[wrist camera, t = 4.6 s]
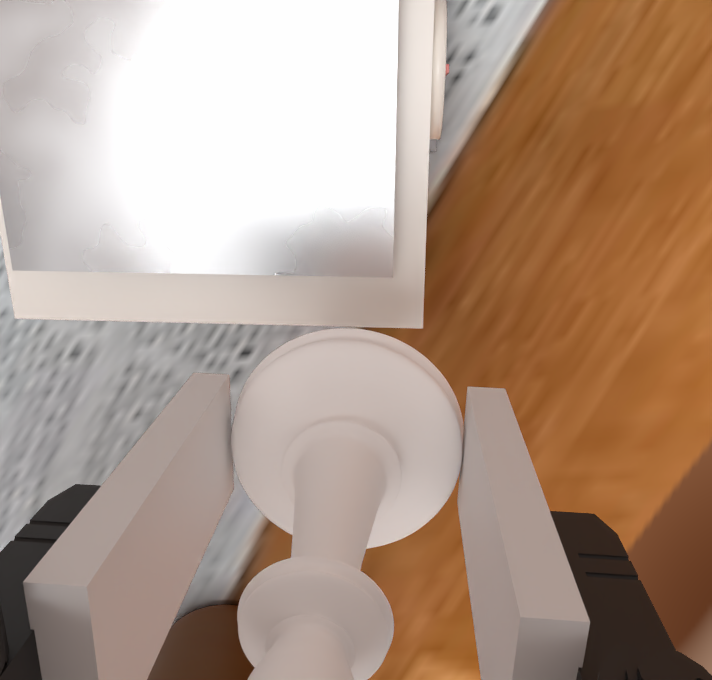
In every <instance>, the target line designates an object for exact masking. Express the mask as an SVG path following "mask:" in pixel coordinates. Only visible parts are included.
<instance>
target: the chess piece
mask: <svg viewBox="0 0 712 680" xmlns="http://www.w3.org/2000/svg"><path fill="white" fill-rule="evenodd" d="M463 432H464V426H463V419H462V414H461V410H460V407H459V404H458V401H457V399H456V397H455V394H454V392H453V390H452V389H451V387H450V385H449V383H448V382H447V380H446V379H445V378H444V376H443V375H442V374H441V372H440V371H439V370H438V369H437V368H436V367H435V366H434V365H433V364H432V363H431V362H430V361H429V360H428V359H427V358H426V357H425V356H423V355H422V354H421V353H420V352H418V351H417V350H415V349H414V348H412V347H411V346H409V345H407V344H405V343H404V342H402V341H400V340H397V339H395V338H393V337H390V336H388V335H385V334H381V333H378V332H374V331H369V330H364V329H355V328H334V329H326V330H320V331H315V332H312V333H308V334H305V335H302V336H300V337H297V338H295V339H293V340H291V341H289V342H287V343H285V344H283V345H282V346H280V347H279V348H277V349H276V350H274V351H273V352H272V353H270V354H269V355H268V356H267V357H266V358H265V359H264V360H263V361H262V362H261V363H260V364H259V365H258V366H257V367H256V368H255V370H254V371H253V372H252V374H251V375H250V376H249V378H248V380H247V381H246V383H245V385H244V387H243V389H242V391H241V394H240V396H239V399H238V402H237V406H236V411H235V416H234V420H233V425H232V432H231V449H232V457H233V462H234V466H235V469H236V472H237V475H238V478H239V480H240V482H241V484H242V486H243V488H244V490H245V492H246V493H247V495H248V496H249V498H250V499H251V501H252V502H253V503H254V505H255V506H256V507H257V508H258V509H259V510H260V511H261V512H262V513H263V514H264V515H265V516H266V517H267V518H268V519H269V520H270V521H271V522H273V523H274V524H275V525H277V526H278V527H279V528H281V529H283V530H284V531H286V532H287V533H289V534H291V535H293V537H292V551H291V558H289V559H285V560H282V561H279V562H277V563H274V564H272V565H270V566H268V567H267V568H265V569H263V570H262V571H261V572H259V573H258V574H257V575H256V576H255V577H254V578H253V579H252V580H251V581H250V582H249V583H248V585H247V586H246V588H245V589H244V591H243V593H242V595H241V598H240V601H239V605H238V611H237V622H238V635H239V640H240V644H241V647H242V649H243V651H244V653H245V655H246V657H247V658H248V660H249V661H250V663H251V664H252V665H253V666H254V667H255V668H254V670H253V671H252V673H251V674H250V676H249V678H248V679H247V680H368V679H369V678H370V677H371V676H372V675H373V674H374V673H375V672H376V671H377V670H378V669H379V667H380V666H381V664H382V662H383V661H384V658H385V656H386V653H387V652H388V650H389V647H390V645H391V642H392V638H393V633H394V619H393V614H392V610H391V607H390V604H389V602H388V600H387V598H386V596H385V595H384V593H383V592H382V590H381V589H380V588H379V587H378V585H377V584H376V583H375V582H374V581H373V580H372V579H371V578H369V577H368V576H367V575H366V574H364V573H363V572H361V571H360V570H361V565H362V562H363V558H364V555H365V551H366V549H367V548H373V547H378V546H383V545H386V544H389V543H392V542H395V541H398V540H400V539H402V538H404V537H406V536H408V535H410V534H412V533H414V532H415V531H417V530H418V529H420V528H421V527H422V526H424V525H425V524H426V523H427V522H429V521H430V520H431V519H432V518H433V517H434V516H435V515H436V514H437V513H438V512H439V511H440V509H441V508H442V507H443V505H444V504H445V503H446V501H447V500H448V498H449V496H450V495H451V493H452V491H453V489H454V487H455V484H456V482H457V479H458V476H459V472H460V468H461V462H462V444H463Z"/></svg>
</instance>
